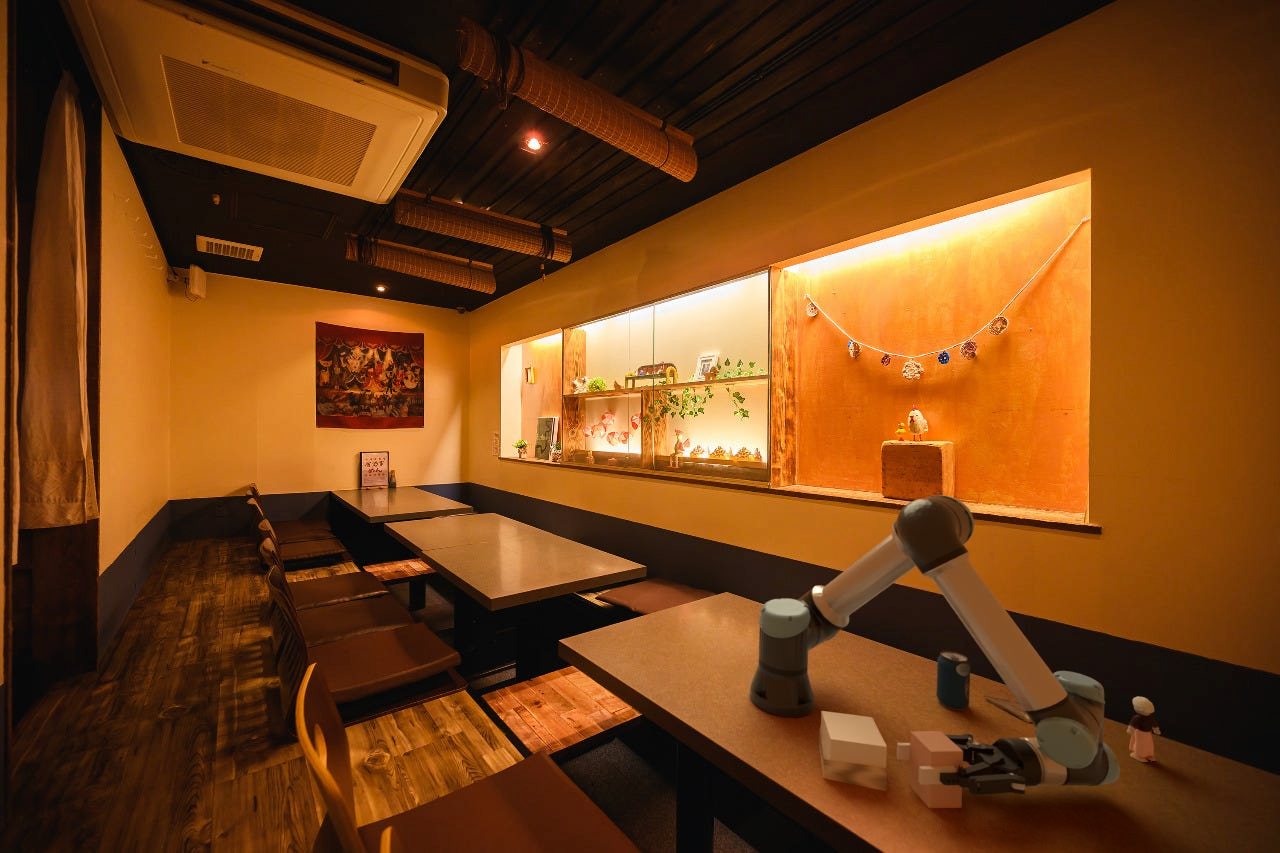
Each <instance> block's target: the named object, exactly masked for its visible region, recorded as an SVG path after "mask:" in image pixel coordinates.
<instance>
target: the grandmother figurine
mask: <svg viewBox="0 0 1280 853" xmlns="http://www.w3.org/2000/svg"><path fill="white" fill-rule="evenodd" d="M1132 705H1133V709H1134V711H1135V712H1136V713H1137V714H1135V715H1133V717H1132V718H1131V719H1130V721H1129V722H1128V726H1127V729H1126V733H1127V735H1130V736H1131V737H1130V742H1129V746H1128V747H1129V748H1128V750H1130V751H1131V753H1130V754H1129V756H1130V758H1132V759H1135V760H1136V761H1138V762H1141V763H1143V762H1149V760H1151V761H1150V762H1152V761H1155V760H1156V759H1155V757H1154V756H1155V751H1154V750H1155V748H1154V740H1153V736H1152V731H1153V733H1154V734H1155V735H1161V731H1160V728H1159V725H1158V723H1157V722H1156V720H1155V719H1154V717H1153V716H1152V715H1151V714H1152V713H1154V712H1155V707H1154V705H1153V702H1152V701H1150V700H1149V699H1148V698H1147V697H1143V696H1136V697H1133V698H1132ZM1147 759H1148V760H1147Z"/></svg>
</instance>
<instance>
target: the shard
mask: <svg viewBox="0 0 1280 853" xmlns="http://www.w3.org/2000/svg"><path fill="white" fill-rule="evenodd" d="M983 697H984V699H985V701H986V702H988V703H990V704H992V705H993V706H996V707H997V708H1000V709H1002V710H1005V712H1006V711H1007V712H1008V713H1010V714H1012V715H1013V714H1014V716H1015V715H1016V717H1017V716H1018V717H1017V718H1019V719H1021V720H1022V719H1023V720H1022V721H1025V722H1027V724H1028V723H1029V722H1030V723H1033V722H1032V721H1031V720H1030V718H1029V717H1028V715H1027V714H1026V712H1025V711H1024V709H1023V708H1022V706H1021V705H1020V704H1019V702H1018V701H1013V700H1010V699H1002V698H997V697H993V696H988V695H983Z"/></svg>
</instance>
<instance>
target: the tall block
mask: <svg viewBox="0 0 1280 853" xmlns="http://www.w3.org/2000/svg"><path fill="white" fill-rule="evenodd" d="M946 735H947V734H944V733H943V732H942V731H941V730H938V731H937V730H928V731H927V730H926V731H925V730H922V731H921V730H920V731H919V730H916V731H915V730H913V731H910V734H909V736H910V738H909V739H910V740H909V743H910V760H909V763H908V764H909V766H908V768H909V769H908V771H909V772H908V785H909V787H910V788H911V789H912V790H913V792H915V794H916V795H917V796H918V797H919V798H920V799H921V801H922V802H923V803H924V804H925V805H926V806H927V807H928V809H950V808H951V809H953V808H954V809H955V808H957V809H959V808H961V809H962V805H963V804H962V799H963V798H962V797H963V796H962V794H963V787H960V786H959V785H943V784H929V785H921V784H920V783H919V766H955V767H956V768H957V772H959V765H960V768H961V766H962V767H963V768H964V766H963V765H964V764H963V763H964V761H963V751H962V750H961V749H960V748H959V747H958V746H957V745H956V744H955V743H953V742H952V741H951V740H950V739H949V738H948V737H947V736H946Z"/></svg>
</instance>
